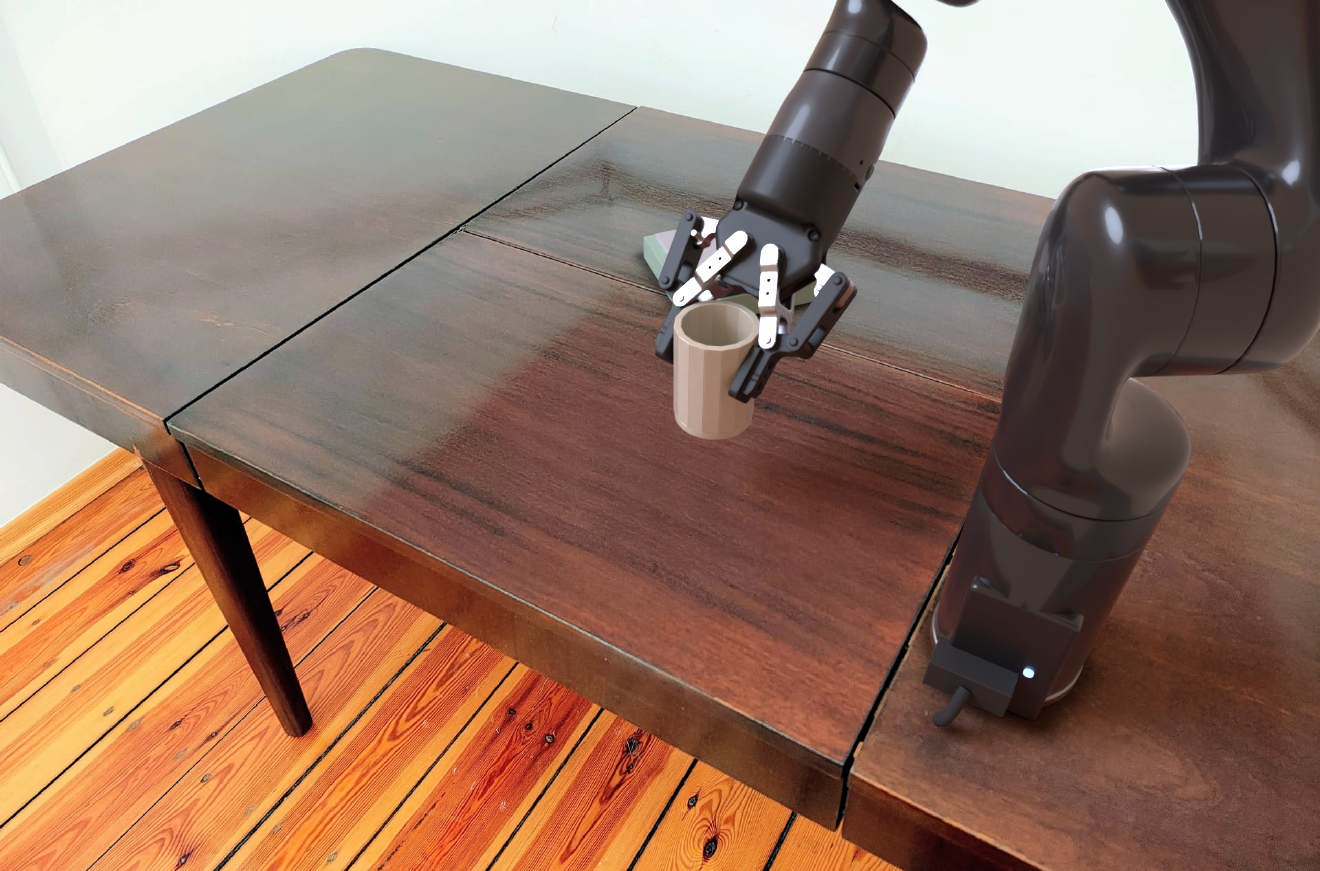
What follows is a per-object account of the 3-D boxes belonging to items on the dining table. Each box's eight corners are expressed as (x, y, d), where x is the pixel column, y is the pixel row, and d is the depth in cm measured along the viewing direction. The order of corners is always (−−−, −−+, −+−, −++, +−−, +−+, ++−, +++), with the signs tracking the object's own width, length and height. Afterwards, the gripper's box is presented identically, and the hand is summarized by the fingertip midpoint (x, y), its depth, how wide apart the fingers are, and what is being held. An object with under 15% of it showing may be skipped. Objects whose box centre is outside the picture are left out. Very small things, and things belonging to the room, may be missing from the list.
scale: (814, 301, 90) (818, 272, 87) (688, 328, 87) (688, 299, 84) (759, 235, 99) (762, 207, 96) (643, 257, 96) (643, 229, 93)
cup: (731, 450, 65) (736, 360, 60) (659, 423, 68) (658, 334, 62) (766, 403, 69) (774, 314, 64) (697, 379, 71) (699, 291, 66)
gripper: (709, 105, 63) (596, 326, 65) (894, 168, 56) (763, 414, 58) (751, 152, 70) (648, 351, 71) (922, 214, 63) (803, 434, 64)
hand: (700, 379), depth 64 cm, fingers closed on cup, 6 cm apart
